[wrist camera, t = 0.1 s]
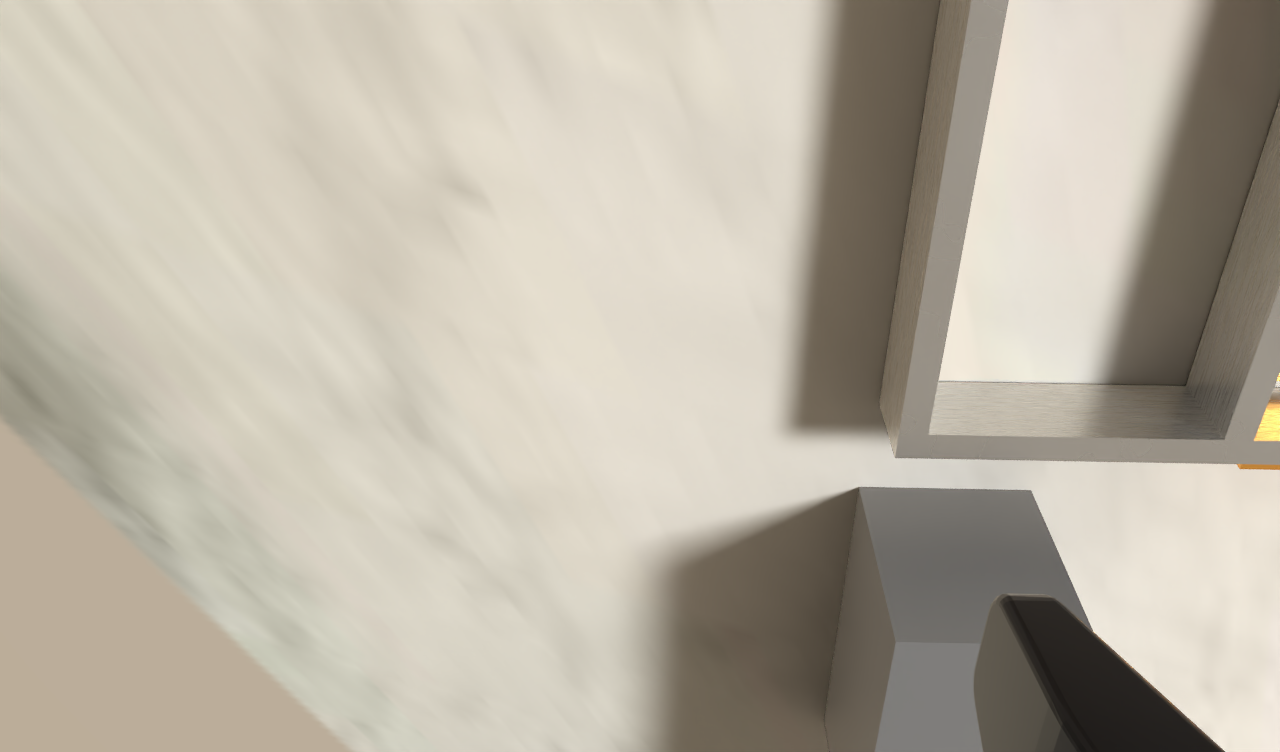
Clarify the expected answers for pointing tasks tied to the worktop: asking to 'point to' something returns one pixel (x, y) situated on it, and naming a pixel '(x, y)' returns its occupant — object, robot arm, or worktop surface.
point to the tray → (1068, 413)
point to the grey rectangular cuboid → (929, 611)
